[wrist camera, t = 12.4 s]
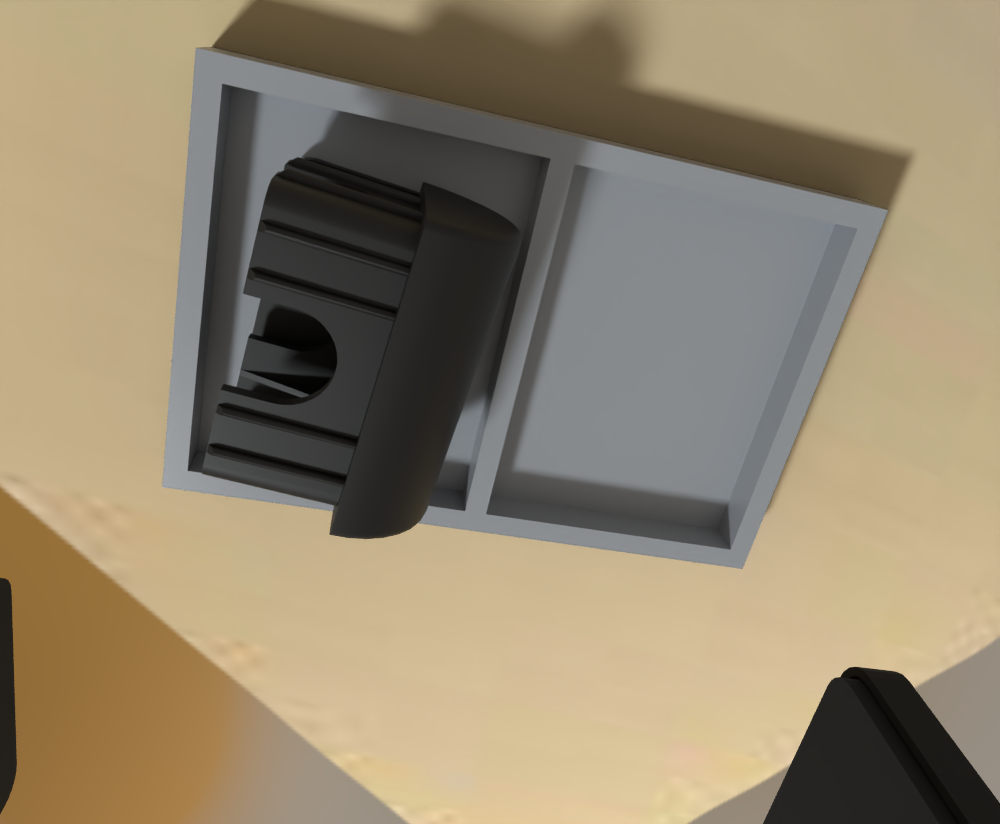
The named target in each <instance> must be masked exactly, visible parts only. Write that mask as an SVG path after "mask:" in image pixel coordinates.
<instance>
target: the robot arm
mask: <svg viewBox="0 0 1000 824" xmlns="http://www.w3.org/2000/svg"><path fill="white" fill-rule="evenodd" d="M13 661H14V660H13V628H12V596H11V585H10V583H9V581H8V580H7V579H4V578H0V814H1V812H2V810H3V808H4V806H5V804H6V802H7V800H8V798H9V795H10V793H11V790H12V787H13V784H14V780H15V775H16V766H17V759H16V727H15V694H14V663H13ZM763 824H1000V803H999V802H998V800H997V799H996V797H995V796H994V795H993V793H992V792H991V791H990V789H989V788H988V787H987V785H986V784H985V783H984V781H983V780H982V779H981V777H980V776H979V775H978V773H977V772H976V771H975V769H974V768H973V766H972V765H971V764H970V763H969V761H968V760H967V758H966V757H965V756H964V755H963V753H962V752H961V751H960V749H959V748H958V746H957V745H956V744H955V742H954V741H953V740H952V738H951V737H950V736H949V734H948V733H947V732H946V730H945V729H944V728H943V726H942V725H941V724H940V722H939V721H938V719H937V718H936V717H935V715H934V714H933V713H932V711H931V710H930V709H929V707H928V706H927V705H926V703H925V702H924V701H923V699H922V698H921V697H920V695H919V694H918V693H917V692H916V690H915V688H914V687H913V686H912V684H911V683H910V682H909V681H908V680H907V679H906V678H905V677H904V676H903V675H902V674H900V673H898V672H894V671H886V670H878V669H869V668H861V667H850V668H848V669H847V670H846V671H844V672H843V674H842V675H841V677H838V678H834V679H833V680H831V682H830V683H829V685H828V686H827V689H826V691H825V693H824V695H823V697H822V699H821V701H820V703H819V706H818V708H817V710H816V712H815V714H814V716H813V718H812V721H811V723H810V725H809V727H808V729H807V731H806V733H805V735H804V738H803V740H802V742H801V744H800V746H799V748H798V750H797V752H796V755H795V757H794V759H793V761H792V763H791V765H790V767H789V769H788V772H787V774H786V776H785V778H784V780H783V782H782V784H781V787H780V789H779V791H778V793H777V795H776V797H775V799H774V802H773V804H772V806H771V808H770V810H769V812H768V814H767V816H766V818H765V821H764V823H763Z"/></svg>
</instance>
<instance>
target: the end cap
mask: <svg viewBox="0 0 1000 824" xmlns="http://www.w3.org/2000/svg"><path fill="white" fill-rule="evenodd" d="M521 242H522V238H521V233H520V231H519V229H518V228H517V227H516V226H515V225H514V224H513V223H512V222H511V221H509V220H508V219H507V218H505V217H503V216H502V215H500V214H498V213H497V212H495V211H493V210H491V209H489V208H487V207H485V206H483V205H481V204H479V203H477V202H474V201H472V200H470V199H468V198H465V197H463V196H460V195H458V194H456V193H453V192H450V191H448V190H445V189H443V188H440V187H437V186H434V185H431V184H429V183H426V182H423V184H422V187H421V190H420V193H419V192H417V191H414V190H411V189H408V188H405V187H402V186H399V185H396V184H393V183H390V182H387V181H384V180H381V179H378V178H375V177H372V176H369V175H366V174H363V173H360V172H357V171H354V170H351V169H348V168H345V167H342V166H339V165H336V164H333V163H330V162H327V161H324V160H321V159H318V158H311V157H305V158H303V159H302V158H299V157H297V158H295V159H293V160H291V159H290V160H289V161H288V162H287V163H286V164H285V166H284V170H283V171H281V172H279V171H278V172H277V173H276V174H275V175H274V177H273V178H272V179H271V181H270V184H269V186H268V189H267V192H266V196H265V200H264V204H263V208H262V212H261V216H260V221H259V225H258V229H257V234H256V238H255V242H254V247H253V251H252V255H251V260H250V264H249V268H248V273H247V277H246V281H245V286H244V290H243V294H246V295H249V296H253V297H256V298H260V303H259V307H258V312H257V316H256V320H255V324H254V328H253V332H252V334H251V333H250V335H249V337H248V340H247V345H246V349H245V353H244V357H243V361H242V366H241V370H240V374H239V378H238V382H237V386H236V387H235V386H231V385H227V384H223V386H222V388H221V390H220V394H219V398H218V402H217V407H216V411H215V415H214V420H213V424H212V428H211V433H210V437H209V441H208V446H207V450H206V454H205V459H204V463H203V468H202V474H204V475H208V476H212V477H216V478H220V479H225V480H229V481H233V482H237V483H241V484H246V485H250V486H254V487H258V488H262V489H267V490H271V491H275V492H279V493H283V494H288V495H292V496H296V497H300V498H304V499H309V500H313V501H317V502H321V503H325V504H330V505H334V508H333V515H332V521H331V527H330V535H335V536H341V537H346V538H359V539H373V538H384V537H388V536H393V535H397V534H400V533H402V532H405V531H407V530H409V529H411V528H412V527H413V526H415V525H416V524H417V523H418V522H420V521H421V519H422V517H423V516H424V514H425V513H426V511H427V508H428V505H429V502H430V500H431V497H432V494H433V491H434V488H435V486H436V483H437V480H438V477H439V474H440V471H441V469H442V466H443V463H444V460H445V457H446V455H447V452H448V449H449V446H450V443H451V440H452V438H453V435H454V432H455V429H456V426H457V423H458V421H459V418H460V415H461V412H462V409H463V407H464V404H465V401H466V398H467V395H468V392H469V390H470V387H471V384H472V381H473V378H474V376H475V373H476V370H477V367H478V364H479V361H480V359H481V356H482V353H483V350H484V347H485V344H486V342H487V339H488V336H489V333H490V330H491V328H492V325H493V322H494V319H495V316H496V313H497V311H498V308H499V305H500V302H501V299H502V297H503V294H504V291H505V288H506V285H507V282H508V280H509V277H510V274H511V271H512V268H513V265H514V263H515V260H516V257H517V254H518V251H519V249H520V246H521Z"/></svg>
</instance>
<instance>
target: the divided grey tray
mask: <svg viewBox="0 0 1000 824" xmlns="http://www.w3.org/2000/svg"><path fill="white" fill-rule="evenodd" d="M297 157H299V158H302V159H303V158H305V157H311V158H318V159H321V160H324V161H327V162H330V163H333V164H336V165H339V166H342V167H345V168H348V169H351V170H354V171H357V172H360V173H363V174H366V175H369V176H372V177H375V178H378V179H381V180H384V181H387V182H390V183H393V184H396V185H399V186H402V187H405V188H408V189H411V190H414V191H417V192H419V193H420V190H421V187H422V184H423V182H426V183H429V184H431V185H434V186H437V187H440V188H443V189H445V190H448V191H450V192H453V193H456V194H458V195H460V196H463V197H465V198H468V199H470V200H472V201H474V202H477V203H479V204H481V205H483V206H485V207H487V208H489V209H491V210H493V211H495V212H497V213H498V214H500V215H502V216H503V217H505V218H507V219H508V220H509V221H511V222H512V223H513V224H514V225H515V226H516V227H517V228H518V229H519V231H520V233H521V238H522V242H521V246H520V249H519V251H518V254H517V257H516V260H515V263H514V265H513V268H512V271H511V274H510V277H509V280H508V282H507V285H506V288H505V291H504V294H503V297H502V299H501V302H500V305H499V308H498V311H497V313H496V316H495V319H494V322H493V325H492V328H491V330H490V333H489V336H488V339H487V342H486V344H485V347H484V350H483V353H482V356H481V359H480V361H479V364H478V367H477V370H476V373H475V376H474V378H473V381H472V384H471V387H470V390H469V392H468V395H467V398H466V401H465V404H464V407H463V409H462V412H461V415H460V418H459V421H458V423H457V426H456V429H455V432H454V435H453V438H452V440H451V443H450V446H449V449H448V452H447V455H446V457H445V460H444V463H443V466H442V469H441V471H440V474H439V477H438V480H437V483H436V486H435V488H434V491H433V494H432V497H431V500H430V502H429V505H428V508H427V511H426V513H425V514H424V516H423V517H422V519H421V521H420V522H418V523H420V524H427V525H435V526H442V527H449V528H456V529H463V530H470V531H477V532H484V533H491V534H498V535H506V536H513V537H520V538H527V539H534V540H541V541H548V542H555V543H562V544H569V545H577V546H584V547H591V548H598V549H605V550H612V551H619V552H626V553H633V554H640V555H647V556H655V557H662V558H669V559H676V560H683V561H690V562H697V563H704V564H711V565H718V566H726V567H733V568H740V569H743V566H744V564H745V561H746V559H747V556H748V554H749V551H750V549H751V546H752V544H753V542H754V539H755V537H756V534H757V532H758V529H759V527H760V524H761V522H762V519H763V517H764V515H765V512H766V510H767V507H768V505H769V502H770V500H771V497H772V495H773V492H774V490H775V488H776V485H777V483H778V480H779V478H780V475H781V473H782V470H783V468H784V465H785V463H786V460H787V458H788V456H789V453H790V451H791V448H792V446H793V443H794V441H795V438H796V436H797V433H798V431H799V429H800V426H801V424H802V421H803V419H804V416H805V414H806V411H807V409H808V406H809V404H810V402H811V399H812V397H813V394H814V392H815V389H816V387H817V384H818V382H819V379H820V377H821V375H822V372H823V370H824V367H825V365H826V362H827V360H828V357H829V355H830V352H831V350H832V347H833V345H834V343H835V340H836V338H837V335H838V333H839V330H840V328H841V325H842V323H843V320H844V318H845V316H846V313H847V311H848V308H849V306H850V303H851V301H852V298H853V296H854V293H855V291H856V289H857V286H858V284H859V281H860V279H861V276H862V274H863V271H864V269H865V266H866V264H867V262H868V259H869V257H870V254H871V252H872V249H873V247H874V244H875V242H876V239H877V237H878V235H879V232H880V230H881V227H882V225H883V222H884V220H885V217H886V215H887V212H888V210H886V209H883V208H881V207H878V206H875V205H872V204H870V203H867V202H864V201H861V200H859V199H854V198H850V197H846V196H842V195H837V194H833V193H829V192H825V191H820V190H816V189H812V188H808V187H803V186H799V185H795V184H791V183H786V182H782V181H778V180H774V179H770V178H765V177H761V176H757V175H753V174H748V173H744V172H740V171H736V170H731V169H727V168H723V167H719V166H714V165H710V164H706V163H702V162H697V161H693V160H689V159H685V158H680V157H676V156H672V155H668V154H663V153H659V152H655V151H651V150H646V149H642V148H638V147H634V146H629V145H625V144H621V143H617V142H612V141H608V140H604V139H600V138H595V137H591V136H587V135H583V134H579V133H574V132H570V131H566V130H562V129H557V128H553V127H549V126H545V125H540V124H536V123H532V122H528V121H523V120H519V119H515V118H511V117H506V116H502V115H498V114H494V113H489V112H485V111H481V110H477V109H472V108H468V107H464V106H460V105H455V104H451V103H447V102H443V101H438V100H434V99H430V98H426V97H421V96H417V95H413V94H409V93H404V92H400V91H396V90H392V89H388V88H383V87H379V86H375V85H371V84H366V83H362V82H358V81H354V80H349V79H345V78H341V77H337V76H332V75H328V74H324V73H320V72H315V71H311V70H307V69H303V68H298V67H294V66H290V65H286V64H281V63H277V62H273V61H269V60H264V59H260V58H256V57H252V56H247V55H243V54H239V53H235V52H230V51H226V50H222V49H218V48H214V47H201V48H196V52H195V66H194V79H193V92H192V105H191V118H190V131H189V144H188V157H187V170H186V183H185V197H184V210H183V223H182V236H181V249H180V262H179V275H178V288H177V301H176V314H175V327H174V341H173V354H172V367H171V380H170V393H169V406H168V419H167V432H166V445H165V458H164V472H163V485H162V487H165V488H172V489H179V490H186V491H193V492H200V493H208V494H215V495H222V496H229V497H236V498H243V499H250V500H257V501H264V502H271V503H278V504H286V505H293V506H300V507H307V508H314V509H321V510H328V511H333V508H334V505H330V504H325V503H321V502H317V501H313V500H309V499H304V498H300V497H296V496H292V495H288V494H283V493H279V492H275V491H271V490H267V489H262V488H258V487H254V486H250V485H246V484H241V483H237V482H233V481H229V480H225V479H220V478H216V477H212V476H208V475H204V474H202V468H203V463H204V459H205V454H206V450H207V446H208V441H209V437H210V433H211V428H212V424H213V420H214V415H215V411H216V407H217V402H218V398H219V394H220V390H221V388H222V386H223V384H227V385H231V386H235V387H236V386H237V382H238V378H239V374H240V370H241V366H242V361H243V357H244V353H245V349H246V345H247V340H248V337H249V335H250V333H251V334H252V332H253V328H254V324H255V320H256V316H257V312H258V307H259V303H260V298H256V297H253V296H249V295H246V294H243V290H244V286H245V281H246V277H247V273H248V268H249V264H250V260H251V255H252V251H253V247H254V242H255V238H256V234H257V229H258V225H259V221H260V216H261V212H262V208H263V204H264V200H265V196H266V192H267V189H268V186H269V184H270V181H271V179H272V178H273V177H274V175H275V174H276V173H277V172H278V171H279V172H281V171H283V170H284V166H285V164H286V163H287V162H288V161H289V160H290V159H291V160H293V159H295V158H297Z"/></svg>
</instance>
